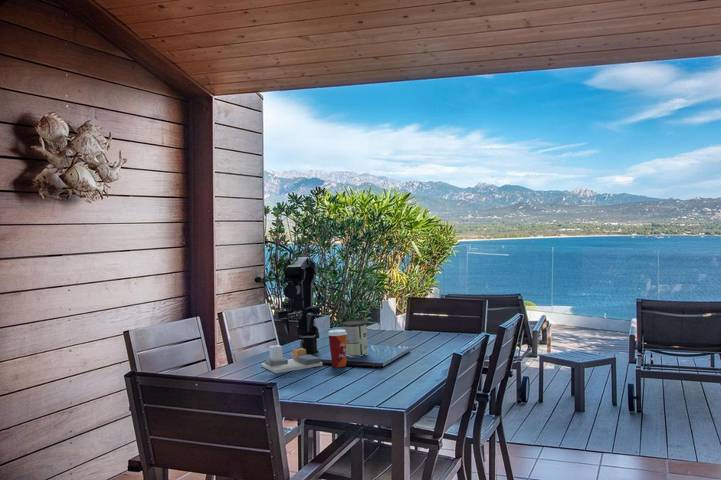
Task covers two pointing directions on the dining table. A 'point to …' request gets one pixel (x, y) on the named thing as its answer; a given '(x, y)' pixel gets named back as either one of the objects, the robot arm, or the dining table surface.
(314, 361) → the grey piece
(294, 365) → the board
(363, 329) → the coffee can
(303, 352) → the cable plug
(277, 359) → the block
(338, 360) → the paper cup
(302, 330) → the robot arm
